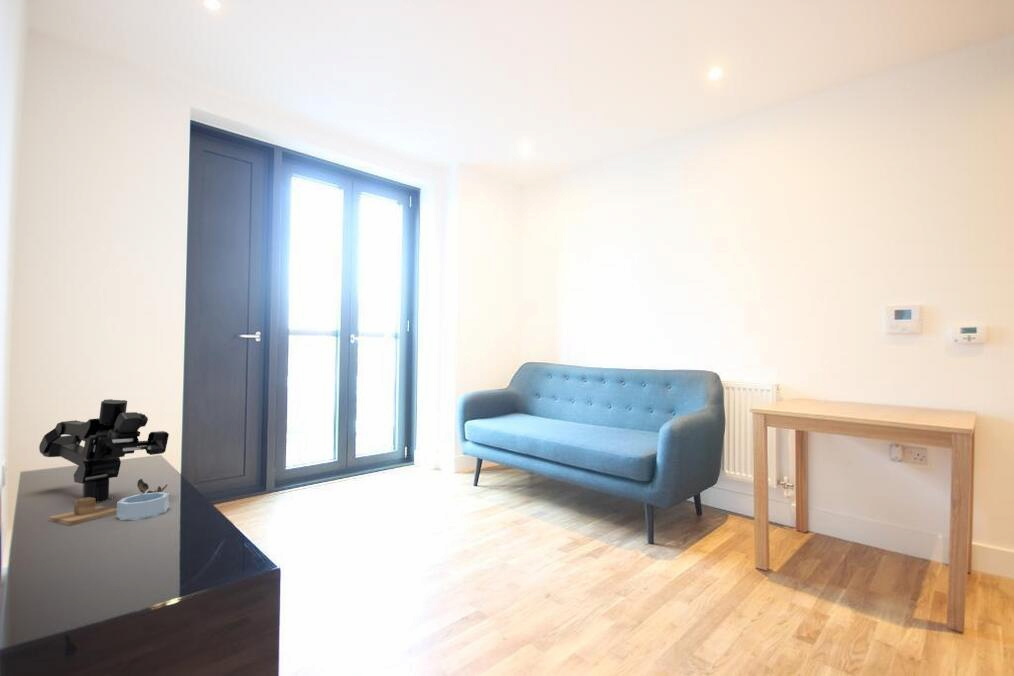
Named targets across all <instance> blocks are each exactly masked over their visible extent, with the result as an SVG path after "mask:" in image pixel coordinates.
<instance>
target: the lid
mask: <svg viewBox="0 0 1014 676" xmlns="http://www.w3.org/2000/svg"><path fill="white" fill-rule="evenodd" d="M95 501H96V498H92V497H87V498H83V497H81V498H79V499H74V510H72V511H67V512H64V513H60V514H56V515H52V516H48V521H49V522H51V521H52V522H51V523H55V522H56V523H57V524H60V523H61V524H60V525H64V524H65V525H66V526H69V525H70V527H72V525H73V526H75V525H80V524H83V522H84V523H87V521H88V522H91V521H95V520H98V518H99V519H103V518H106V516H107V517H110V516H114V515H117V508H114V507H109V506H108V507H107V506H103V505H98V504H97V505H96V503H95ZM113 514H114V515H113ZM102 517H103V518H102ZM79 523H80V524H79Z"/></svg>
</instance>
